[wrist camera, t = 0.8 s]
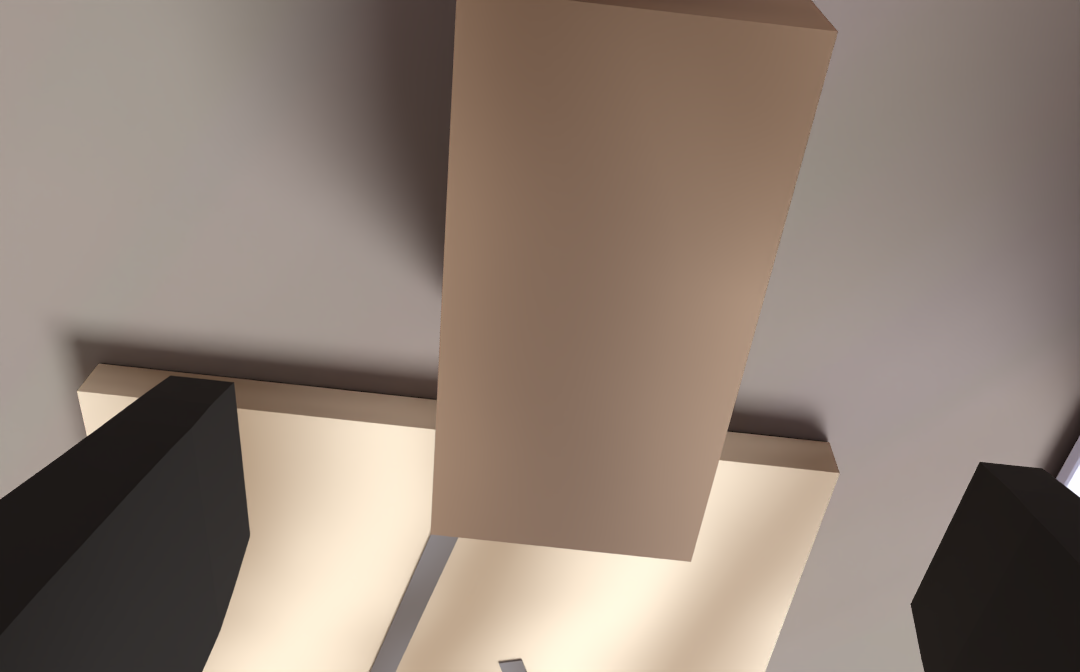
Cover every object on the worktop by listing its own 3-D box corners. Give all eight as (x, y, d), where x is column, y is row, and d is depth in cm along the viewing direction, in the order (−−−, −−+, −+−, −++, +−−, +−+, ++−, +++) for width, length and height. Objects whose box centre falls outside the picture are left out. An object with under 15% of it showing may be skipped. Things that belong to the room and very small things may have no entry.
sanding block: (751, -70, 15) (837, 30, 10) (664, 344, 19) (691, 561, 14) (502, -99, 14) (457, -13, 9) (472, 322, 19) (430, 534, 14)
